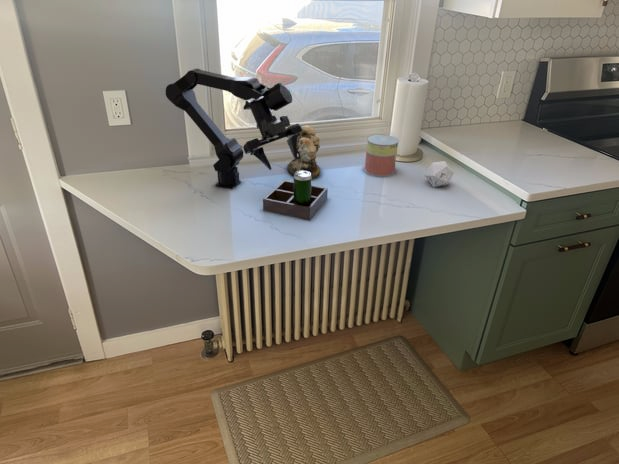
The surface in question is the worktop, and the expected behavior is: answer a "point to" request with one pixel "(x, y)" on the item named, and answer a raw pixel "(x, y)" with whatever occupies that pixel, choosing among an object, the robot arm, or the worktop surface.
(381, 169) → the canned food
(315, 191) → the rack
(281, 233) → the worktop surface
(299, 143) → the beige bust sculpture
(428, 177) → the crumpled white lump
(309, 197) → the beer can
